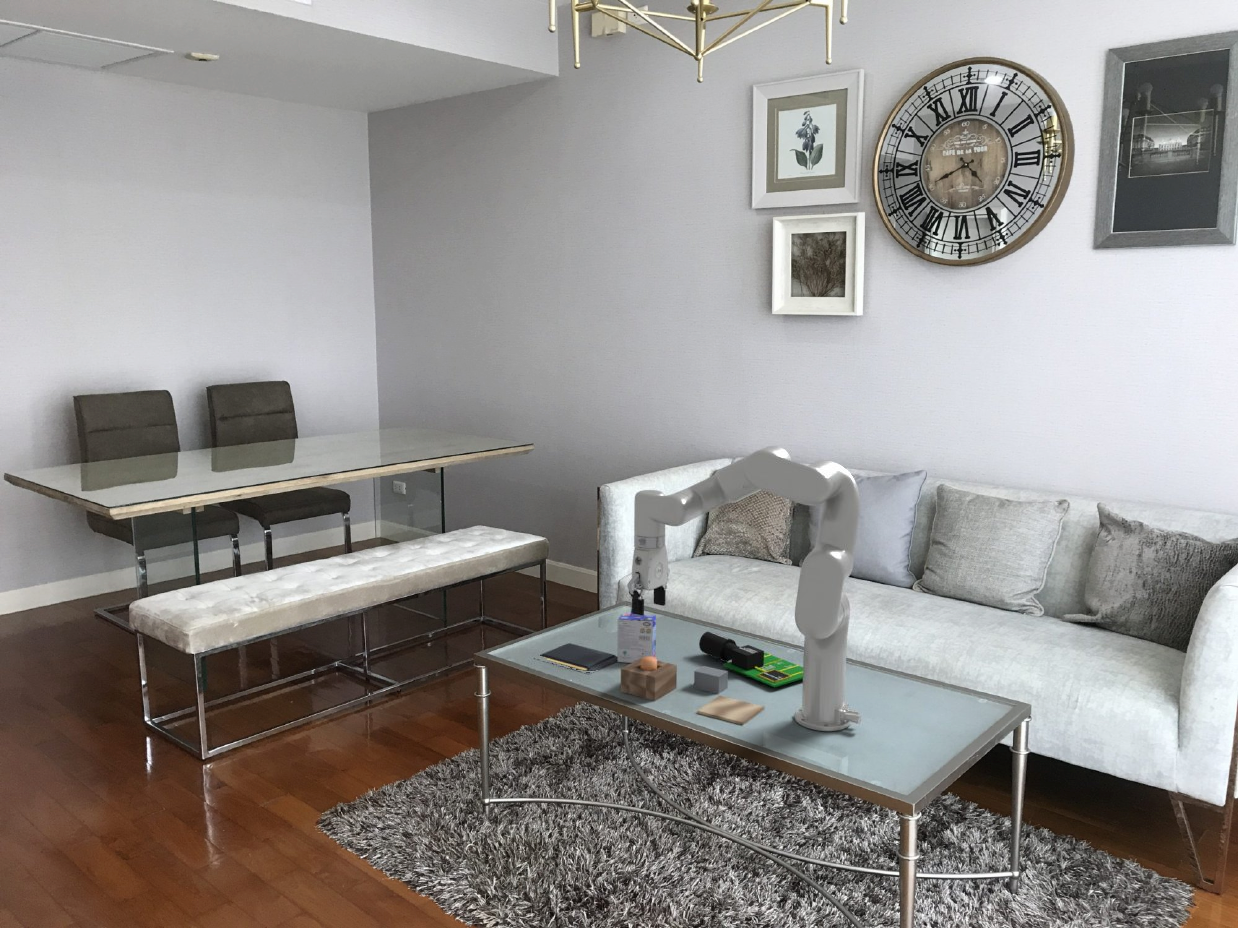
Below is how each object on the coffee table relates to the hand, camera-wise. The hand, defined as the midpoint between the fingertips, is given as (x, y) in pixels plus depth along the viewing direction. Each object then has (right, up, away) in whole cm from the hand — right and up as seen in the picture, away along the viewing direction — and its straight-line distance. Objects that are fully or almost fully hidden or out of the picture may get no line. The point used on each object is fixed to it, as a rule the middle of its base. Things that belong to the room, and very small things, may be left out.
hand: (648, 609), depth 241 cm
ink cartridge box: (-2, -17, +24) cm, 30 cm away
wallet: (-18, -18, +25) cm, 36 cm away
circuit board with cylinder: (+28, -18, +18) cm, 38 cm away
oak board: (+19, -22, -10) cm, 31 cm away
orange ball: (0, -17, +2) cm, 17 cm away
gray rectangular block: (+16, -20, +4) cm, 26 cm away
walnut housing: (0, -20, +3) cm, 21 cm away
